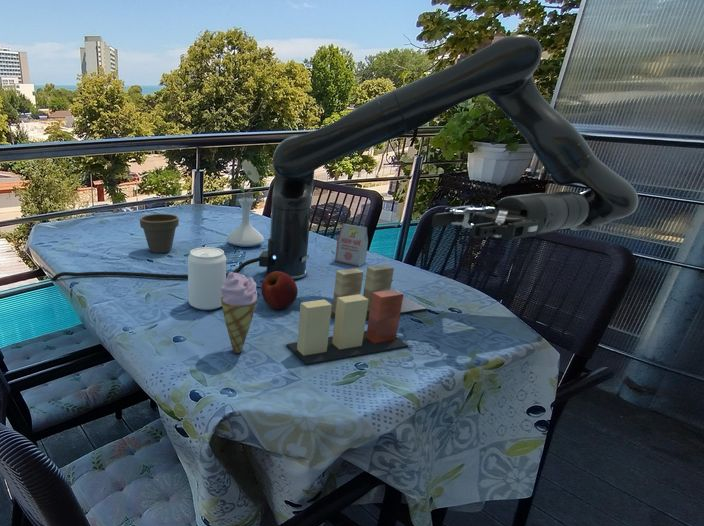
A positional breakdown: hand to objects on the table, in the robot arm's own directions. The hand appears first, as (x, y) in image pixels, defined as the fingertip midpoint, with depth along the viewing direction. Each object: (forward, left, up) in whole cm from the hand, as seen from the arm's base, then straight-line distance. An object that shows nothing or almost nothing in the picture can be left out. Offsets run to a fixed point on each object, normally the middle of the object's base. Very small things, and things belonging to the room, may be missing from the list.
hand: (452, 225), depth 79 cm
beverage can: (-44, 0, -20) cm, 48 cm away
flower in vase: (-46, +48, -21) cm, 70 cm away
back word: (-10, +7, -20) cm, 24 cm away
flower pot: (-69, +35, -21) cm, 80 cm away
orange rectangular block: (-9, -7, -20) cm, 23 cm away
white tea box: (-15, +38, -21) cm, 46 cm away
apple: (-29, +3, -21) cm, 36 cm away
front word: (-15, -11, -20) cm, 27 cm away
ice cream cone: (-33, -18, -21) cm, 43 cm away
